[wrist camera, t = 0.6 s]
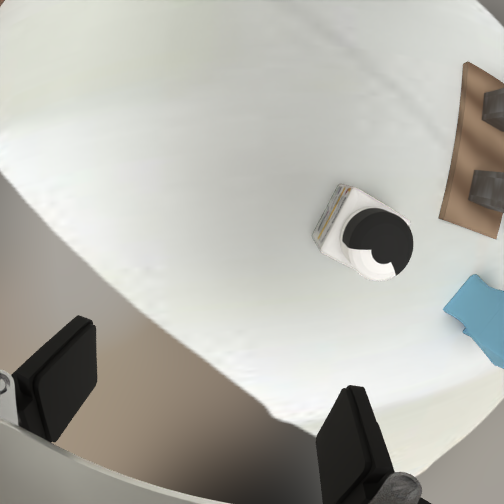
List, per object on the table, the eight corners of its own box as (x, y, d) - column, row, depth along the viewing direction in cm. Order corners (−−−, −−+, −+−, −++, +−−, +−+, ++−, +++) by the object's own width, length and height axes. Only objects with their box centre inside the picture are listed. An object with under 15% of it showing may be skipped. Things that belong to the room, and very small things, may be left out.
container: (338, 182, 38) (370, 190, 25) (388, 211, 38) (435, 231, 26) (310, 236, 40) (328, 268, 27) (360, 262, 40) (395, 302, 28)
